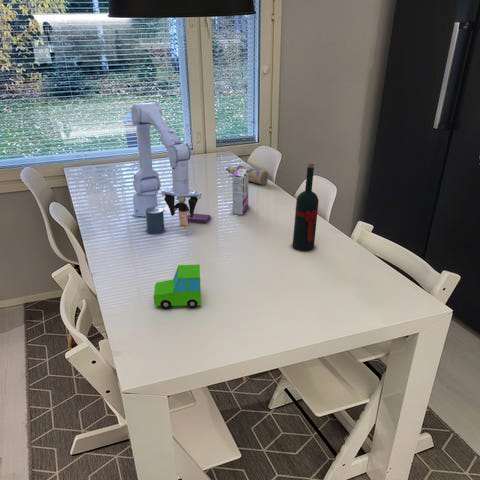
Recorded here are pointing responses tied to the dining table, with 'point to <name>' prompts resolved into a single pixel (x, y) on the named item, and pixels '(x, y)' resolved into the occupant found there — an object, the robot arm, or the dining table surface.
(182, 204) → the grandmother figurine
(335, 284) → the dining table surface
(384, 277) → the dining table surface
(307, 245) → the wine bottle
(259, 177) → the decorative bottle
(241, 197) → the candy bar box
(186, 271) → the toy car
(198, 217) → the purple box
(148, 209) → the tin can
